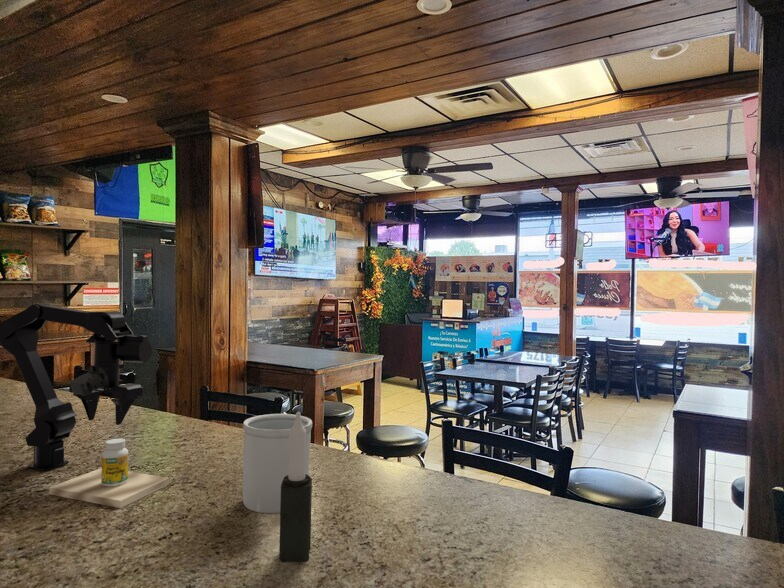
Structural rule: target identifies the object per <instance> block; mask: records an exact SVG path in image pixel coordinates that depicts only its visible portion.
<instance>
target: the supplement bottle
mask: <svg viewBox="0 0 784 588" xmlns="http://www.w3.org/2000/svg"><path fill="white" fill-rule="evenodd" d="M104 447H105V450H104V451H103V452H102V453H101V468H102V475H101V483H102V485H103V486H106V487H114V486H119V485H122V484H124V483H126V482H127V481H128V471H129V450H128V449H127V447H126V439H125V438H112V439H109V440H108V439H107V440H106V441H105V442H104Z"/></svg>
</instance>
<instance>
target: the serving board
mask: <svg viewBox="0 0 784 588" xmlns="http://www.w3.org/2000/svg"><path fill="white" fill-rule="evenodd" d="M101 475H102V467H100V468H97V469H94V470H93V471H90V472H87V473H84V474H81V475H79V476H76V477H74V478H71V479H69V480H65V481H63V482H61V483H58V484H56V485H53V486H50V487H49V488H48V489H49V494H48V495H52V496H56V497H61V498H65V499H72V500H77V501H82V502H89V503H93V504H97V505H101V506H102V505H104V506H108V507H114V508H117V509H121V508H124V507H125V506H128V505H130V504H132V503H135V502H136V501H138V500H140V499H142V498H144V497H146V496H148V495H150V494H152V493H154V492H156V491H159V490H160V489H163V488H165V487H167V486H169V485H170V477H167V476H166V477H165V476H159V475H152V474H147V473H141V472H135V471H130V470H128V481H127V482H126V483H124V484H122V485H119V486H114V487H106V486H103V485H102V483H101Z"/></svg>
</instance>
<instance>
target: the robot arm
mask: <svg viewBox="0 0 784 588" xmlns="http://www.w3.org/2000/svg"><path fill="white" fill-rule="evenodd" d="M47 322H52V323H53V322H54V323H59V324H65V325H70V326H71V325H72V326H78V327H81V328H83V329H85V330H86V331H88V332H91V333H93V334H92V335H91V336H90V337H88V338H87V339H85V341H86V342H85V343H89V344H91V343H93V344H94V353H93V364H90V365H89V367H88V372H86V373H84V374H82V375H79V376H78V377H76V378H73V379H72V380H70V382H69V387H68V388H69V389H68V391H69V393H72V395H73V396H74V397H76V398H78V399H79V400H81V402H82V405H83V407H84V411H85V413H86V416H87V419H88V421H90V422H91V421H94V420H95V417H96V413H97V409H98V404H99V400H100V397H101V392H102V393H103V392H104V393H110V394H111V396H112V397H113V398H111V399H110V400H111V402H113V404H114V405H115V424H116V426H120V425H122V423H123V421H124V419H125V418H126V416H127V414H128V412H129V410H130V408H131V407H132V406H133V404H134V403H135V401H136V400H137V399H140V398H139V397H142V396H143V393H144V392H143V390H144V388H143V386H142V384H140V383H139V384H138V383H125V384H124V380H123V379H120V370H121V369H124V363H125V362H127V363H147V362H149V361H150V359H151V358H152V354H153V347H152V344H151V342H150V341H149V340H148V335H135V334H134V332H133V331H132V329H131V328H130V326H129V325H128V323H127V322H126V319H125V316H124V314H123V313H122V312H121V311H118V310H111V311H110V310H104V311H103V310H102V311H100V310H99V311H89V310H82V309H77V308H70V307H64V306H58V305H51V304H49V303H33V304H31V305H29V306H28V307H27V308H25V309H24V310H22V311H20V312H18V313H15V314H14V315H12V316H10V317H9V318H7V319H6V320H2V321H1V322H0V346H1V347H2V348H3V349H4V350H5V351H7V352H8V353H9V354H11V355H12V356H13V357H14V360H15V361H16V364H17V367H18V369H19V371H20V373H21V376H22V378H23V380H24V383H25V385H26V388H27V390H28V392H29V395H30V396H31V399H32V401H33V403H34V406H35V411H34V417H33V422H34V427H35V428H34V429H33V430H31V432H30V433H29V434H27V436H25V443H26V446H27V447H33V463H32V464H28V465H27V468H28V469H32V470H39V471H46V472H47V471H49V470H52V469H55V468H57V467H61V466H64V465H66V464H69V463H70V461H69V460H65V447H64V442H65V441H64V439H68V438H70V436H71V433H72V431H73V430H74V428H75V427H76V425H77V420H76V419H77V418H76V417H77V413H76V412H75V411H74V409H73V405H72V403H71V402H70V401H67V402H63V401H62V400H60V399H59V398H58V395H57V394H56V390H55V389H54V387H53V384H52V382H51V379H50V377H49V375H48V372H47V370H46V368H45V366H44V362H43V361H42V358H41V356H40V354H39V352H38V350H37V349H38V348H37V347H38V343H39V334H38V333H39V331H40V330H41V329H43V328H44V326H45V325H46V323H47ZM121 362H123V363H121Z"/></svg>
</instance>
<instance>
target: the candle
mask: <svg viewBox="0 0 784 588" xmlns="http://www.w3.org/2000/svg"><path fill="white" fill-rule="evenodd" d="M301 414H302V413H301V412H300V411H296V413H295V415H296V419H295V422H294V425H293V427H292V428H291V430H290V432H289V471H288V475H287V476H285V477H284V479H283V481H282V484H281V502H280V513H279V552H278V553H279V554H278V556H279V557H278V559H279V561H280V562H282V563H304V562H307V561H309V559H310V551H311V542H312V541H311V539H312V537H311V535H312V500H313V498H312V496H313V495H312V493H313V491H312V490H313V489H312V488H313V479H312V477H311V476H310V475H307V474H305V467H306V430H305V428H304V427H303V425H302V421H301V418H300V416H302V415H301ZM309 550H310V551H309Z"/></svg>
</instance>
